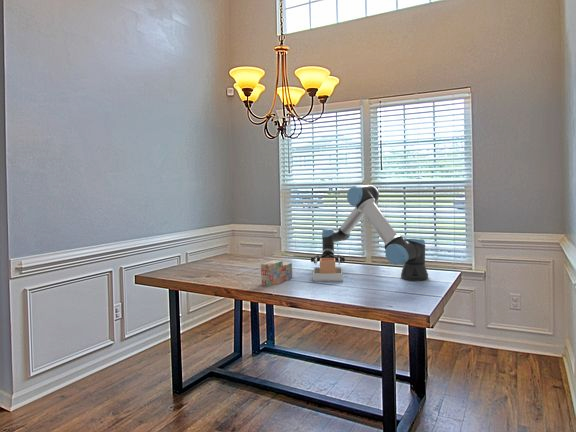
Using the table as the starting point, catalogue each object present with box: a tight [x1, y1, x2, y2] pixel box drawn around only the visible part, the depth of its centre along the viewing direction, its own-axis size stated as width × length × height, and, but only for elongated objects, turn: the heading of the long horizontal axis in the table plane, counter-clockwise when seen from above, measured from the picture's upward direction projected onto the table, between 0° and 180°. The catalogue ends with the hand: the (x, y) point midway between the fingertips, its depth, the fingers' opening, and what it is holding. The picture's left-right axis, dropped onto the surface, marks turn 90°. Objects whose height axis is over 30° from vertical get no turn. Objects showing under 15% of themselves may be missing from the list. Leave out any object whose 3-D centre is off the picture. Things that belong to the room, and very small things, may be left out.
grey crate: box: [312, 266, 344, 283], centre depth 246 cm, size 17×17×4 cm
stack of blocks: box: [260, 259, 293, 287], centre depth 241 cm, size 21×6×12 cm, turn 143°
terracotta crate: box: [319, 258, 336, 273], centre depth 245 cm, size 9×9×10 cm
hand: (327, 262), depth 242 cm, fingers open, 13 cm apart
